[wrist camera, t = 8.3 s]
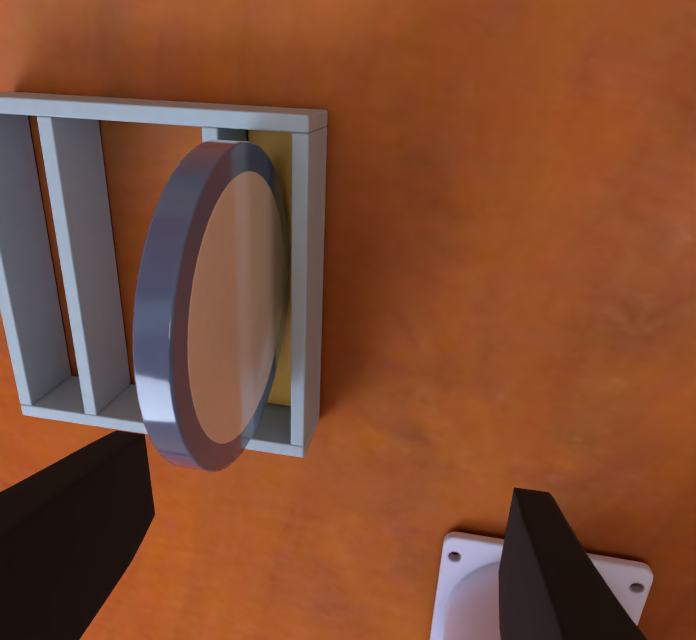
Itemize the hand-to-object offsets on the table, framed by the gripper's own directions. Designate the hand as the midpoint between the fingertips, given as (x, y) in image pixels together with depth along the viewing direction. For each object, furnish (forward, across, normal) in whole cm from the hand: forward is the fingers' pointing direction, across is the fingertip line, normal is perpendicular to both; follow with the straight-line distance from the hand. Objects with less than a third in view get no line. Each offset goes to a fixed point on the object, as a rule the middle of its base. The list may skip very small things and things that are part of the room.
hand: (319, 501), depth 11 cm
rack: (+10, +8, -1) cm, 13 cm away
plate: (+10, +4, -1) cm, 11 cm away
